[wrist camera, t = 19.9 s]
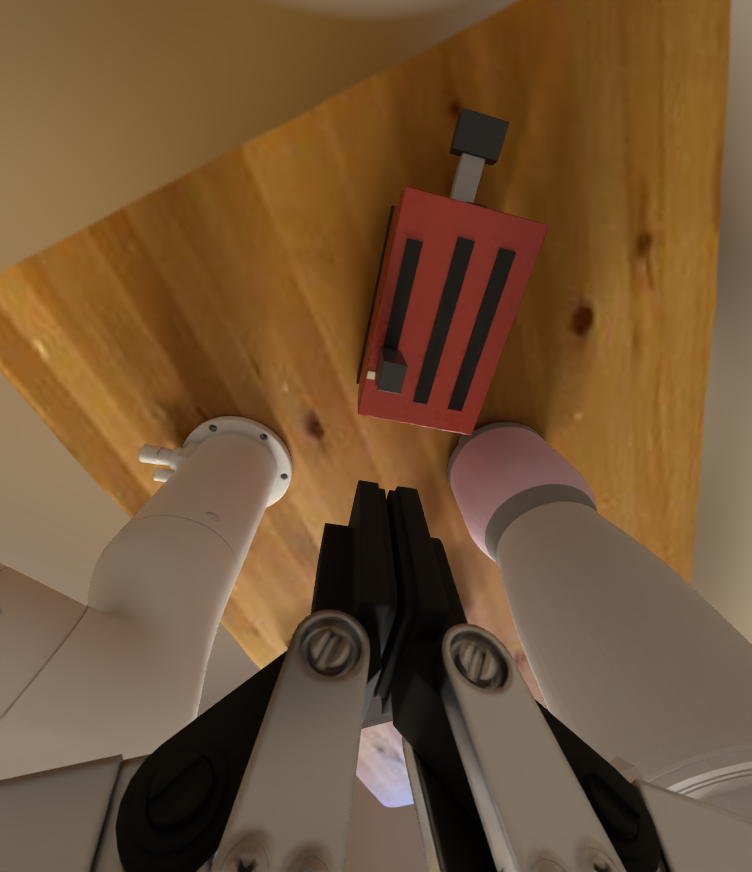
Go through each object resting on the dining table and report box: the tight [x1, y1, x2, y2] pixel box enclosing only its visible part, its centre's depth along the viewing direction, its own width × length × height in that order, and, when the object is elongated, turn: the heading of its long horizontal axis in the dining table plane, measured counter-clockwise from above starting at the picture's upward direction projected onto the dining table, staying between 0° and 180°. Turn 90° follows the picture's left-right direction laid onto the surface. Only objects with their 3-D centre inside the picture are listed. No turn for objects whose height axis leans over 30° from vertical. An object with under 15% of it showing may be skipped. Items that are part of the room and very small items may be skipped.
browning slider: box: [375, 347, 408, 394], centre depth 24 cm, size 2×2×4 cm
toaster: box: [357, 186, 548, 435], centre depth 30 cm, size 10×16×10 cm, turn 168°
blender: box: [447, 422, 752, 820], centre depth 29 cm, size 16×12×32 cm
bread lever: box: [449, 108, 509, 203], centre depth 27 cm, size 4×6×1 cm, turn 168°
